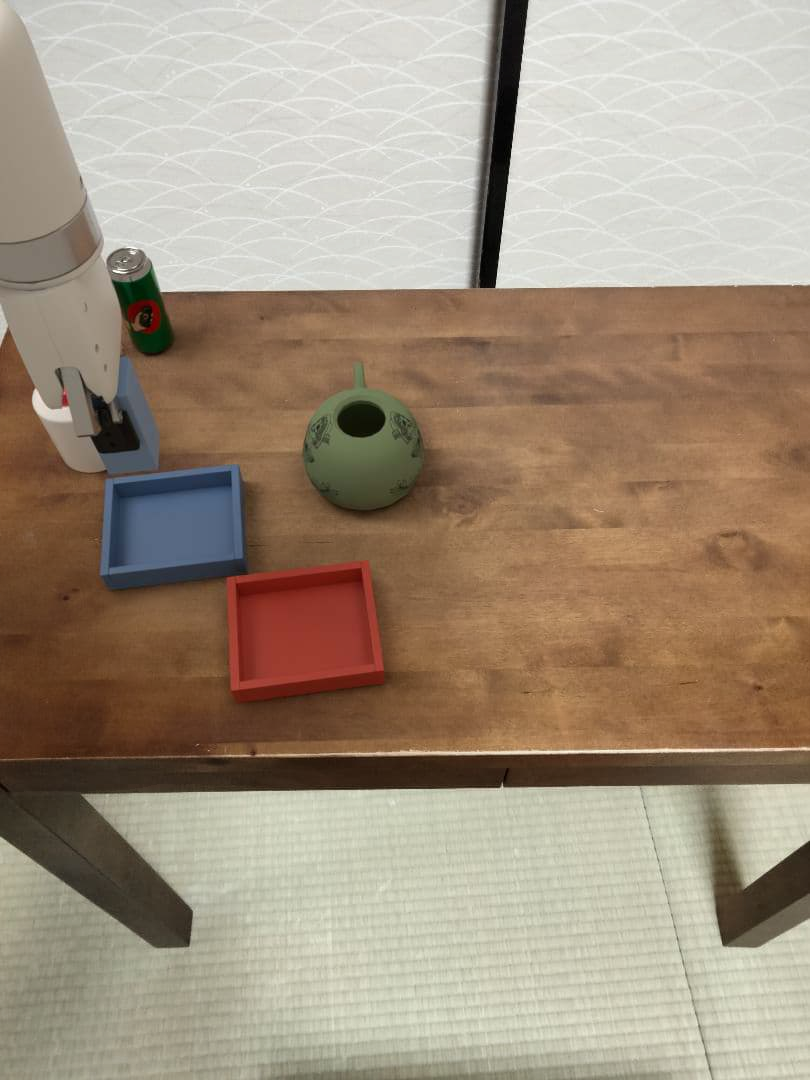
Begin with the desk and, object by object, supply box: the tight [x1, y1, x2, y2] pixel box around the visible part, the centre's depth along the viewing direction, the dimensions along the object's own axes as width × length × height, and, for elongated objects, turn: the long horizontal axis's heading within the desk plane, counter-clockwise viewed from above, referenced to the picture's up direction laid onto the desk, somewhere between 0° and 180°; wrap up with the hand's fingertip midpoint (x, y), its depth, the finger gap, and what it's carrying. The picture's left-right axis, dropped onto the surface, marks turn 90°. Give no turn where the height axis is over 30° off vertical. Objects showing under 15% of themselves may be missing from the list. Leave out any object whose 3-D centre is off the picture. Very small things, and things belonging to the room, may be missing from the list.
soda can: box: [105, 246, 175, 354], centre depth 93 cm, size 5×5×12 cm
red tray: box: [226, 559, 386, 704], centre depth 76 cm, size 14×12×3 cm
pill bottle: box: [31, 386, 107, 474], centre depth 85 cm, size 8×8×11 cm
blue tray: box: [99, 463, 249, 591], centre depth 83 cm, size 14×12×3 cm
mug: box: [301, 361, 426, 511], centre depth 85 cm, size 16×13×9 cm
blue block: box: [90, 355, 160, 475], centre depth 64 cm, size 4×4×9 cm
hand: (121, 424), depth 65 cm, fingers closed on blue block, 4 cm apart
